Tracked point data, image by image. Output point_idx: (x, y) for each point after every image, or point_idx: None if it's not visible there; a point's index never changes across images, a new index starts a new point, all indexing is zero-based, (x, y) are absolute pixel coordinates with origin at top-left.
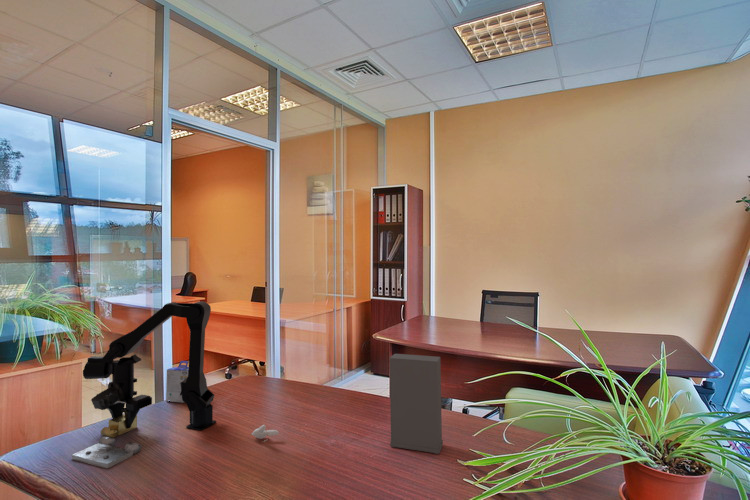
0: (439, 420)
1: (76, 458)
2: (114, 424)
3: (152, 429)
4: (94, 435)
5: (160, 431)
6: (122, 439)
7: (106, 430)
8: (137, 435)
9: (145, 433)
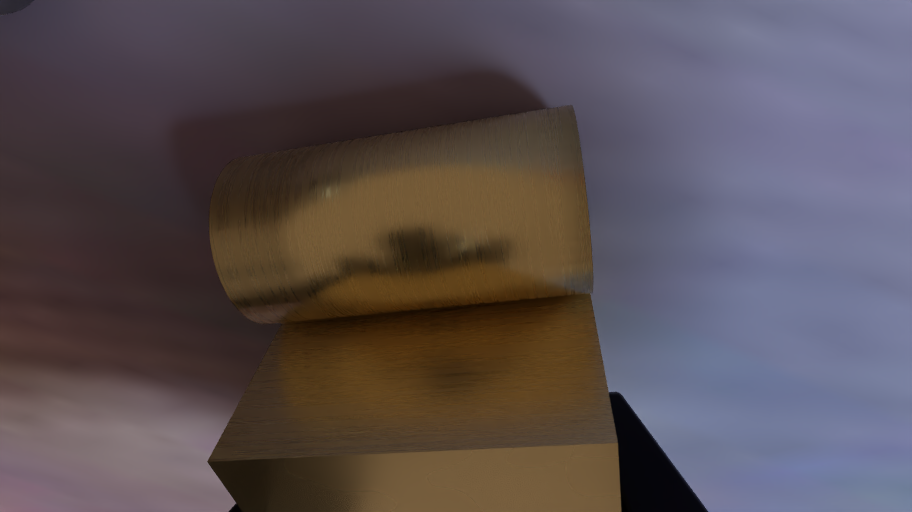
0: None
1: None
2: (378, 391)
3: (183, 493)
4: (790, 43)
5: (59, 493)
6: (98, 220)
7: (400, 195)
8: (110, 366)
9: (111, 425)
